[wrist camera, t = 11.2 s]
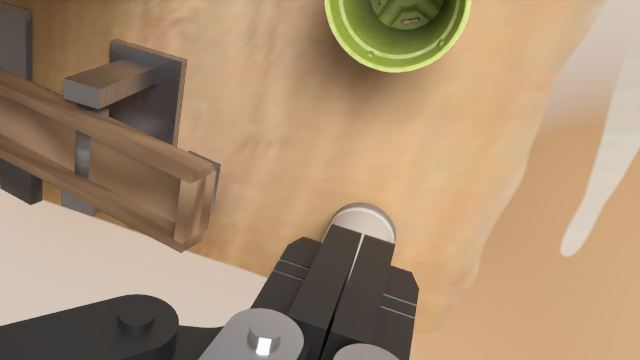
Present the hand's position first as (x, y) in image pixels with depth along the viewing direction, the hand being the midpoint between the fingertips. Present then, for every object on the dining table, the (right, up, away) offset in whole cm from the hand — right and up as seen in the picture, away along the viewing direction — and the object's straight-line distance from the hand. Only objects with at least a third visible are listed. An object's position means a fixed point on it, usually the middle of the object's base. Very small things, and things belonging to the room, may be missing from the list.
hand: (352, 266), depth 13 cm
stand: (-17, +8, +40) cm, 45 cm away
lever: (-19, +3, +36) cm, 40 cm away
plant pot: (+6, +17, +31) cm, 35 cm away
